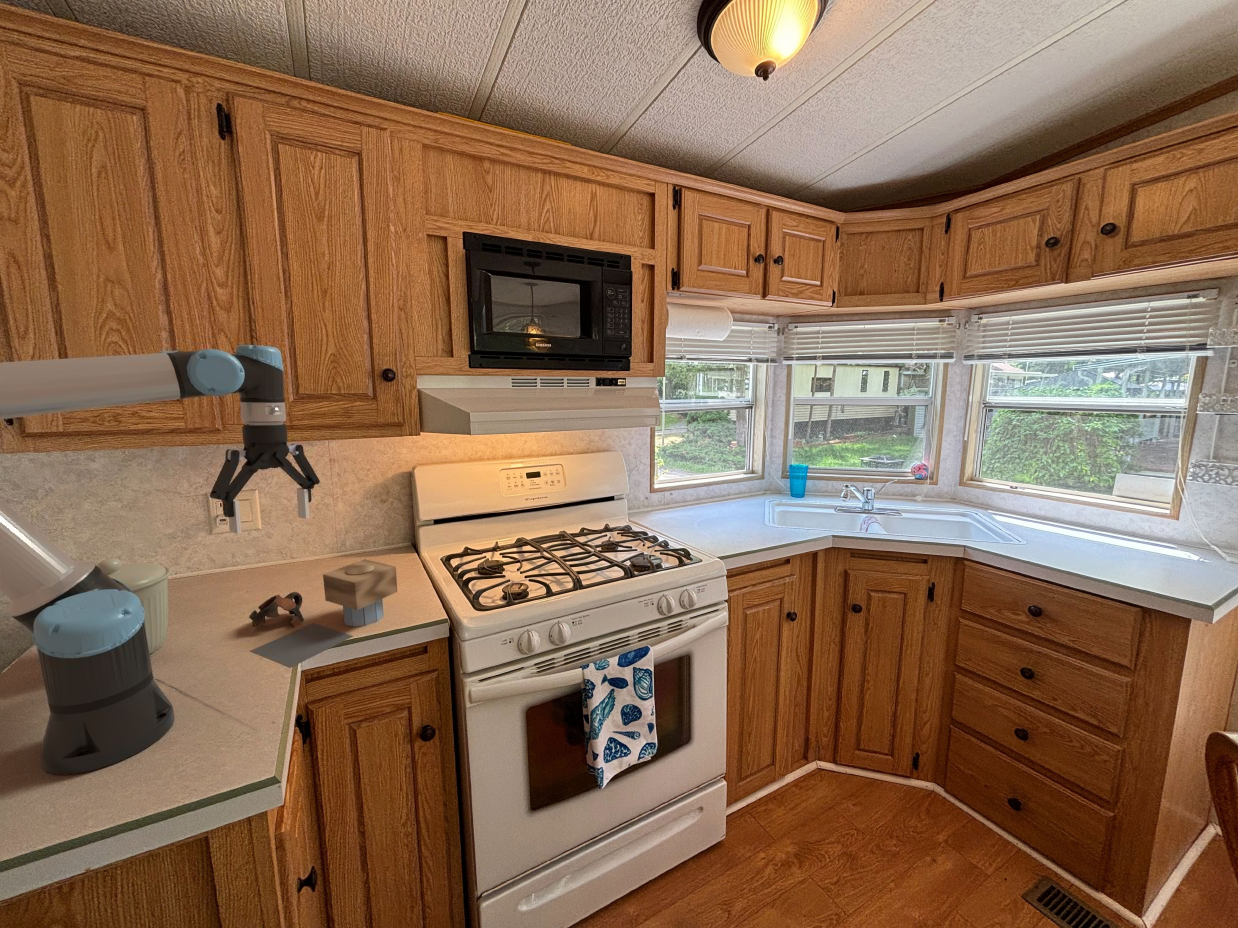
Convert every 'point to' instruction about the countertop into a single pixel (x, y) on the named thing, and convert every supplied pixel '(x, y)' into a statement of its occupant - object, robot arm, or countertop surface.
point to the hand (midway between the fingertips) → (271, 524)
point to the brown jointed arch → (271, 609)
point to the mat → (301, 644)
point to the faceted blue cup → (363, 614)
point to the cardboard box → (360, 584)
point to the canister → (145, 593)
